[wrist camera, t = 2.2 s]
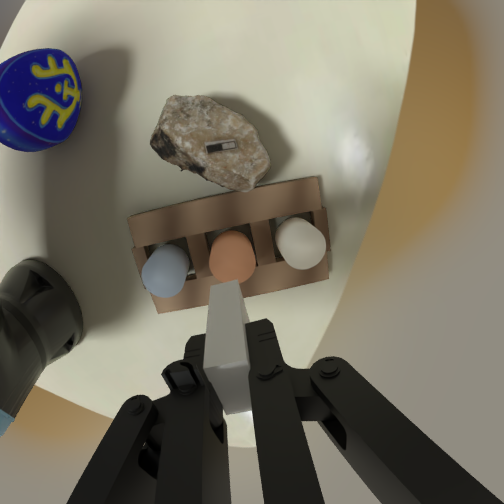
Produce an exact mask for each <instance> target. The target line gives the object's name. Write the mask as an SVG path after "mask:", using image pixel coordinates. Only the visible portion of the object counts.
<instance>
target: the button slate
mask: <svg viewBox="0 0 504 504" xmlns="http://www.w3.org/2000/svg"><path fill="white" fill-rule="evenodd" d="M188 270H189V258H188V256H187V254H186V253H185V251H184V250H183V249H181V248H180V247H178V246H176V245H173V244H165V245H162V246H160V247H158V248H157V249H156V250H155V251H154V252H153V254H152V255H151V256H150V258H149V259H148V260H147V262H146V263H145V265H144V266H143V268H142V273H141V276H142V281H143V284H144V286H145V287H146V289H147V290H148V291H149V292H151V293H152V294H154V295H155V296H158V297H163V298H168V297H172V296H175V295H176V294H178V293H179V292H180V291H181V289H182V288H183V285H184V282H185V279H186V276H187V273H188Z"/></svg>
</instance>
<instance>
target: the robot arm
mask: <svg viewBox="0 0 504 504" xmlns="http://www.w3.org/2000/svg"><path fill="white" fill-rule="evenodd" d="M82 329H83V321H82V315H81V311H80V307H79V305H78V302H77V300H76V298H75V296H74V294H73V292H72V291H71V289H70V287H69V286H68V285H67V283H66V282H65V281H64V280H63V278H62V277H61V276H60V275H59V274H58V273H57V272H56V271H54V270H53V269H52V268H51V267H49V266H47V265H46V264H44V263H42V262H39V261H35V260H25V261H22V262H20V263H18V264H17V265H15V266H14V267H12V268H11V269H10V270H9V271H8V272H7V273H6V275H5V277H4V278H3V280H2V282H1V283H0V436H2V435H3V434H4V433H5V431H6V430H7V428H8V426H9V425H10V423H11V422H14V420H15V417H16V414H17V413H18V412H19V410H20V408H21V406H22V404H23V403H24V401H25V399H26V397H27V396H28V394H29V392H30V391H31V389H32V388H33V386H34V384H35V383H36V381H37V379H38V378H39V376H40V374H41V373H42V371H43V370H44V369H45V367H46V366H47V365H49V364H51V363H53V362H54V361H56V360H58V359H59V358H61V357H63V356H64V355H66V354H68V353H69V352H70V351H71V350H72V349H73V348H74V347H75V345H76V344H77V342H78V341H79V339H80V337H81V334H82ZM161 375H162V377H163V378H164V380H165V382H166V384H167V385H168V387H169V389H170V390H171V391H170V394H169V395H167V396H165V397H162V398H159V399H157V400H154V401H152V400H151V399H150V398H149V397H148V396H145V395H136V396H133V397H131V398H129V399H128V400H126V401H125V403H124V404H123V405H122V407H121V408H120V410H119V412H118V413H117V415H116V417H115V418H114V420H113V422H112V423H111V425H110V427H109V429H108V430H107V432H106V434H105V435H104V437H103V439H102V440H101V442H100V444H99V446H98V447H97V449H96V451H95V453H94V454H93V456H92V458H91V460H90V462H89V463H88V465H87V467H86V469H85V470H84V472H83V474H82V476H81V478H80V479H79V481H78V483H77V485H76V487H75V489H74V490H73V492H72V495H71V496H70V498H69V500H68V502H67V504H231V492H230V479H229V478H230V477H229V460H228V440H227V425H226V421H225V420H224V418H223V409H224V411H225V413H226V415H229V414H235V413H240V412H246V411H251V410H252V414H253V422H254V430H255V438H256V446H257V454H258V461H259V469H260V476H261V483H262V490H263V498H264V504H325V502H324V499H323V496H322V492H321V488H320V485H319V482H318V478H317V474H316V471H315V467H314V464H313V460H312V457H311V453H310V450H309V446H308V443H307V439H306V436H305V432H304V429H303V425H302V422H301V421H317V422H318V423H319V425H320V426H321V427H322V429H323V430H324V431H325V433H326V434H327V435H328V437H329V438H330V439H331V441H332V442H333V443H334V445H335V446H336V447H337V449H338V450H339V451H340V452H341V454H342V455H343V456H344V457H345V459H346V460H347V461H348V463H349V464H350V465H351V467H352V468H353V469H354V470H355V471H356V473H357V474H358V475H359V477H360V478H361V479H362V480H363V482H364V483H365V484H366V485H367V487H368V488H369V489H370V490H371V491H372V493H373V494H374V495H375V496H376V497H377V499H378V500H379V501H380V502H381V503H382V504H504V503H503V502H502V501H501V500H499V499H498V498H497V497H496V496H495V495H493V494H492V493H491V492H490V491H489V490H487V488H485V487H484V486H483V485H482V484H481V483H480V482H478V481H477V480H476V479H475V478H474V477H473V476H471V475H470V474H469V473H468V472H467V471H466V470H465V469H464V468H462V467H461V466H460V465H459V464H458V463H457V462H456V461H455V460H453V459H452V458H451V457H450V456H449V455H448V454H447V453H446V452H444V451H443V450H442V449H441V448H440V447H439V446H438V445H437V444H435V443H434V442H433V441H432V440H431V439H430V438H429V437H428V436H427V435H426V434H424V433H423V432H422V431H421V430H420V429H419V428H418V427H417V426H416V425H415V424H413V423H412V422H411V421H410V420H409V419H408V418H407V417H406V416H404V414H403V413H401V412H400V411H399V410H398V409H397V408H396V407H395V406H394V405H393V404H392V403H390V402H389V401H388V400H387V399H386V398H385V397H384V396H383V395H382V394H381V393H380V392H379V391H378V390H376V389H375V388H374V387H373V386H372V385H371V384H370V383H369V382H368V381H367V380H366V379H365V378H364V377H363V376H362V375H360V374H359V373H358V372H357V371H356V370H355V369H354V368H353V367H352V366H351V365H350V364H349V363H348V362H347V361H345V360H344V359H342V358H339V357H334V356H333V357H325V358H322V359H320V360H318V361H316V362H315V363H314V364H313V365H312V366H311V368H310V369H296V368H292V367H290V366H288V365H287V364H286V363H285V362H284V360H283V357H282V354H281V350H280V347H279V343H278V340H277V336H276V333H275V329H274V326H273V323H272V322H270V321H269V320H268V319H267V318H266V319H262V320H258V321H254V322H250V321H249V317H248V314H247V310H246V307H245V304H244V300H243V297H242V293H241V290H240V286H239V282H238V279H237V280H233V281H229V282H225V283H221V284H216V285H212V286H211V287H210V297H209V307H208V317H207V328H206V333H205V334H200V335H195V336H191V338H190V339H189V340H188V342H187V343H186V346H185V353H184V359H183V360H178V361H175V362H173V363H171V364H169V365H168V366H167V367H166V368H165V369H164V370H163V372H162V374H161ZM144 443H145V445H144ZM143 445H144V446H143Z"/></svg>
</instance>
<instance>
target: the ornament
mask: <svg viewBox="0 0 504 504" xmlns="http://www.w3.org/2000/svg"><path fill="white" fill-rule="evenodd" d="M81 102H82V87H81V81H80V77H79V74H78V70H77V68H76V65H75V64H74V62H73V60H72V59H71V58H70V57H69V56H68V55H67V54H66V53H65V52H63V51H61V50H59V49H50V48H46V49H36V50H31V51H27V52H24V53H21V54H18V55H16V56H14V57H12V58H10V59H8V60H6V61H4V62H3V63H1V64H0V142H1V143H2V144H4V145H6V146H8V147H10V148H12V149H15V150H18V151H24V152H36V151H41V150H44V149H47V148H50V147H53V146H55V145H57V144H59V143H61V142H63V141H65V140H66V139H67V138H68V137H69V135H70V134H71V133H72V131H73V129H74V127H75V125H76V122H77V119H78V116H79V112H80V109H81Z"/></svg>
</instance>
